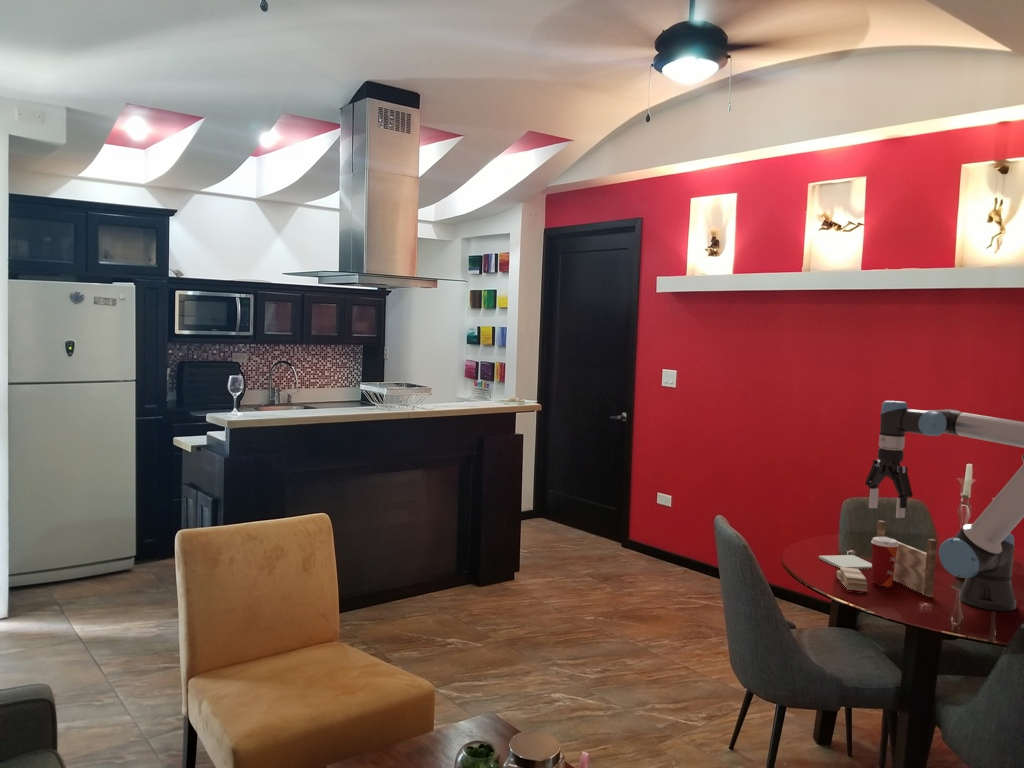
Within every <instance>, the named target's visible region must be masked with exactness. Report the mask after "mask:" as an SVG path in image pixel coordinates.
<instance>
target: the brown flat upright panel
mask: <svg viewBox="0 0 1024 768" xmlns="http://www.w3.org/2000/svg"><path fill="white" fill-rule="evenodd" d="M886 524H887V523H886V521H884V520H877V526H876V528H877V529H876V537H887V538H889V537H888V536H886V526H887V525H886ZM897 543H898V545H899V546H898V547H897V553H896V561H895V568H894V575H893V580H894V581H893V582H895V581H896V582H895V583H897V582H899V583H901V584H903V585H902V586H904V585H905V586H904V587H906V586H907V587H906V588H908V587H909V588H908V589H910V588H911V589H910V590H912V589H913V590H912V591H914V590H915V591H914V592H916V591H917V592H916V593H918V592H919V594H920V593H922V594H921V595H923V596H924V595H925V596H924V597H927V596H928V597H927V598H933V597H934V582H935V571H936V557H937V556H936V554H937V539H934V538H928V539H927V543H926V544H927V545H926V552H925V551H923V550H920V549H918V548H915V547H912V546H911V545H908V544H906V543H903V542H900V541H898V540H897ZM899 583H898V584H899ZM901 584H900V585H901Z"/></svg>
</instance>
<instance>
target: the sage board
mask: <svg viewBox="0 0 1024 768" xmlns="http://www.w3.org/2000/svg"><path fill="white" fill-rule="evenodd" d="M818 559H819V560H821V561H823V562H825V563H826V564H829V565H832V566H833V567H835V566H836V567H835V568H837V567H838V568H837V569H839V568H840V567H845V568H856V569H860V570H869V569H868V568H872V562H870V561H867V560H865V559H864V558H863V559H862V558H860V557H859V556H856V555H854V554H841V555H840V554H839V555H835V554H833V555H819V556H818ZM863 568H864V569H863ZM865 568H867V569H865Z"/></svg>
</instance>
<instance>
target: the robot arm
mask: <svg viewBox="0 0 1024 768" xmlns="http://www.w3.org/2000/svg"><path fill="white" fill-rule="evenodd" d="M879 415H880V423H879V424H880V425H879V426H880V427H879V437H878V438H879V439H878V447H879V448H878V449H877V459H873V460H872V465H871V468H870V471H869V473H868V475H867V477H866V480H865V486H868V488H869V490H868V491H869V494H868V497H869V498H868V499H869V500H868V508H869V509H878V503H879V491H880V490H879V485H880V484H881V483H882V481H883V480H884V479H885V477H887V478H889V479H890V481H892V483H893V484H894V487H895V489H896V490H895V491H896V492H897V494H898V496H897V498H896V508H895V518H896V519H906V518H905V517H906V509H907V503H908V499H909V498H913V496H914V495H913V491H912V488H911V486H912V485H911V483H910V479H909V475H908V466H905V465H903V466H902V465H901V462H903V461H904V454H905V451H904V448H905V441H906V433H910V434H917V435H923V436H927V437H940V436H941V435H943V434H947V435H951V436H952V435H953V436H959V437H966V438H970V439H974V440H975V439H976V440H981V441H986V442H990V443H991V442H992V443H996V444H1003V445H1007V446H1013V447H1018V448H1023V449H1024V421H1018V420H1014V419H1007V418H1000V417H994V416H987V415H982V414H981V415H980V414H974V413H969V412H961V411H959V410H957V409H950V408H949V409H948V408H947V409H936V410H934V409H933V410H932V409H930V410H929V409H928V410H923V409H922V410H921V409H911V408H908V403H907V402H906V401H900V400H896V401H895V400H884V401H883V402H882V403H881V410H880V414H879ZM1021 459H1022V465H1021V466H1020V467H1019V469H1018V470H1016V472H1015V473H1014V475H1013V476H1012V477H1011V478H1010V479H1009V481H1007V483H1006V484H1005V485H1004V486H1003V488H1001V490H999V492H998V493H997V495H996V496H995V497H994V498H993V500H992V501H991V502H990V503H989V504H988V505H987V506H986V508H985V509H984V510H983V511H982V513H981V514H980V515H979V516H978V517H977V518H976V519H975V521H974V522H973V523H966V524H964V525H963V526H962V527H961V528H960V530H959V531H957V533H956V534H955V535H954V536H953V537H949V538H947V539H946V540H944V541H943V542H942V543H941V544H940V546H939V549H938V557H939V562H940V564H941V565H942V566H943V569H945V571H947V572H948V573H949V574H951V575H952V576H954V577H957V578H960V579H961V578H965V579H964V582H963V585H962V587H961V588H960V589H959V593H958V595H959V597H958V599H959V600H960V601H961V602H963V603H965V604H967V605H969V606H972V607H975V608H979V609H985V610H988V611H989V610H990V611H997V612H1011V611H1015V610H1016V609H1017V599H1016V597H1015V592H1014V588H1013V585H1012V575H1013V563H1014V552H1015V547H1016V546H1015V537H1014V535H1013V534H1012V533H1011V532H1012V531H1013V530H1014V529H1015V528H1016V527H1017V525H1018V524H1019V523H1020V522H1021V521H1022V520H1023V519H1024V453H1023V455H1022V456H1021Z"/></svg>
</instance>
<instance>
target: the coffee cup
mask: <svg viewBox="0 0 1024 768" xmlns="http://www.w3.org/2000/svg"><path fill="white" fill-rule="evenodd" d="M887 537H888V536H885V537H877V536H874V537H872V540H871V541H870V543H871V563H872V569H871V584H872V583H874V584H876V585H880V586H886V587H885V588H891V587H893V582H894V581H893V575H894V568H895V561H896V553H897V547H898V546H899V545H898V543H897V541H898V540H896V539H894V538H891V537H888V538H887ZM874 584H873V585H874ZM876 585H875V586H876ZM880 586H879V587H880ZM888 586H889V587H888ZM890 586H891V587H890Z"/></svg>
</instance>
